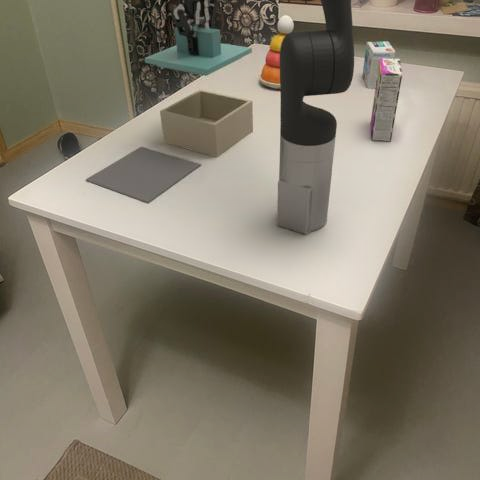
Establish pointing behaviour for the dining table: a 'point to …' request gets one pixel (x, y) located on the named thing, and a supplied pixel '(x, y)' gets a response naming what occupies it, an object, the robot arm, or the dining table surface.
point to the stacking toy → (275, 54)
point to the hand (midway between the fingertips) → (198, 52)
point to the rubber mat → (143, 174)
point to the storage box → (207, 122)
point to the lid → (209, 56)
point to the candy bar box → (385, 99)
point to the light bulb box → (375, 60)
